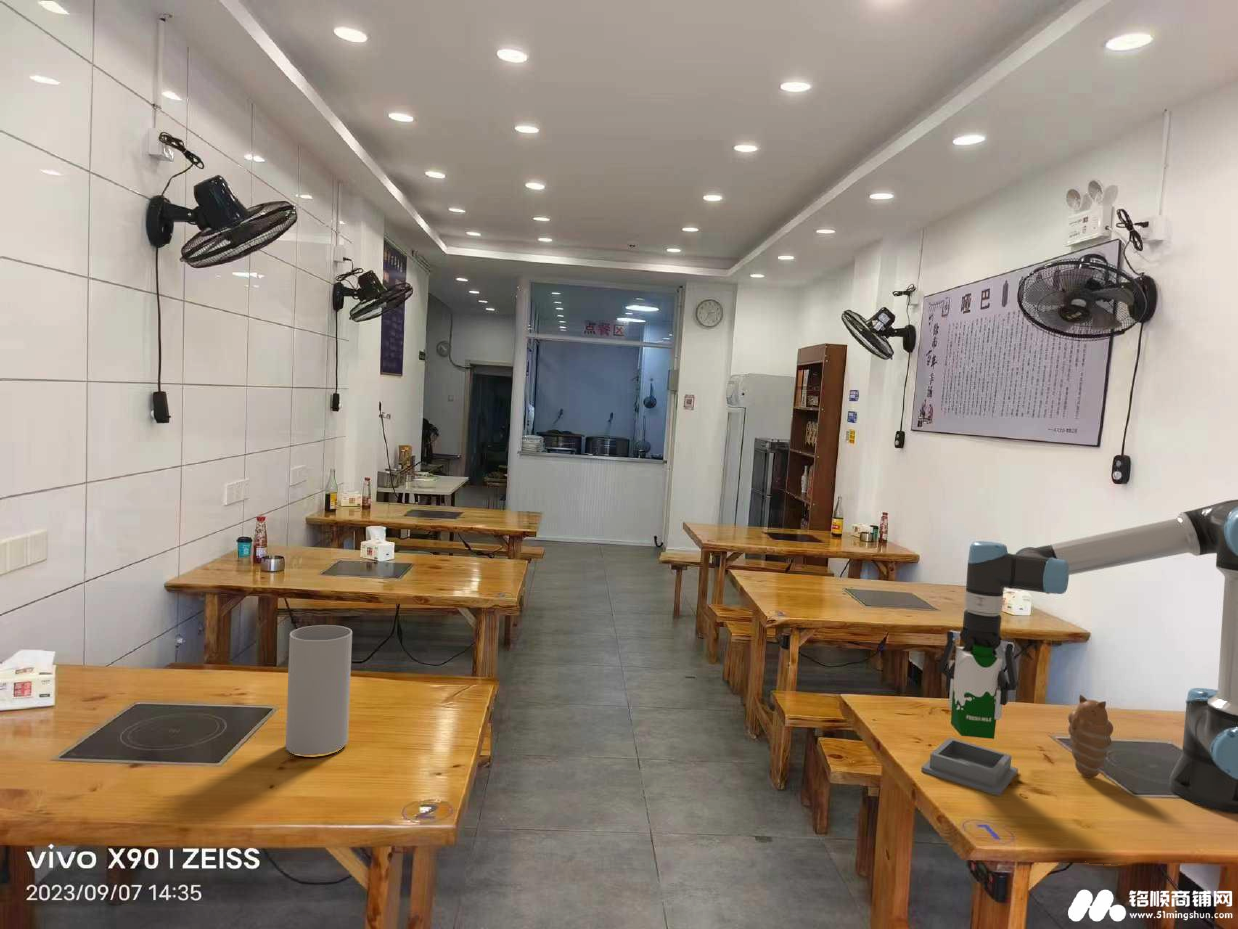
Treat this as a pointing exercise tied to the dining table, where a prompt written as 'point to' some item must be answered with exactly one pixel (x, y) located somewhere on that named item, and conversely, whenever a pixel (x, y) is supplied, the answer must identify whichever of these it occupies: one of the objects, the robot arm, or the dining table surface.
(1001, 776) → the dock
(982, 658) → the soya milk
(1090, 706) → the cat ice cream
